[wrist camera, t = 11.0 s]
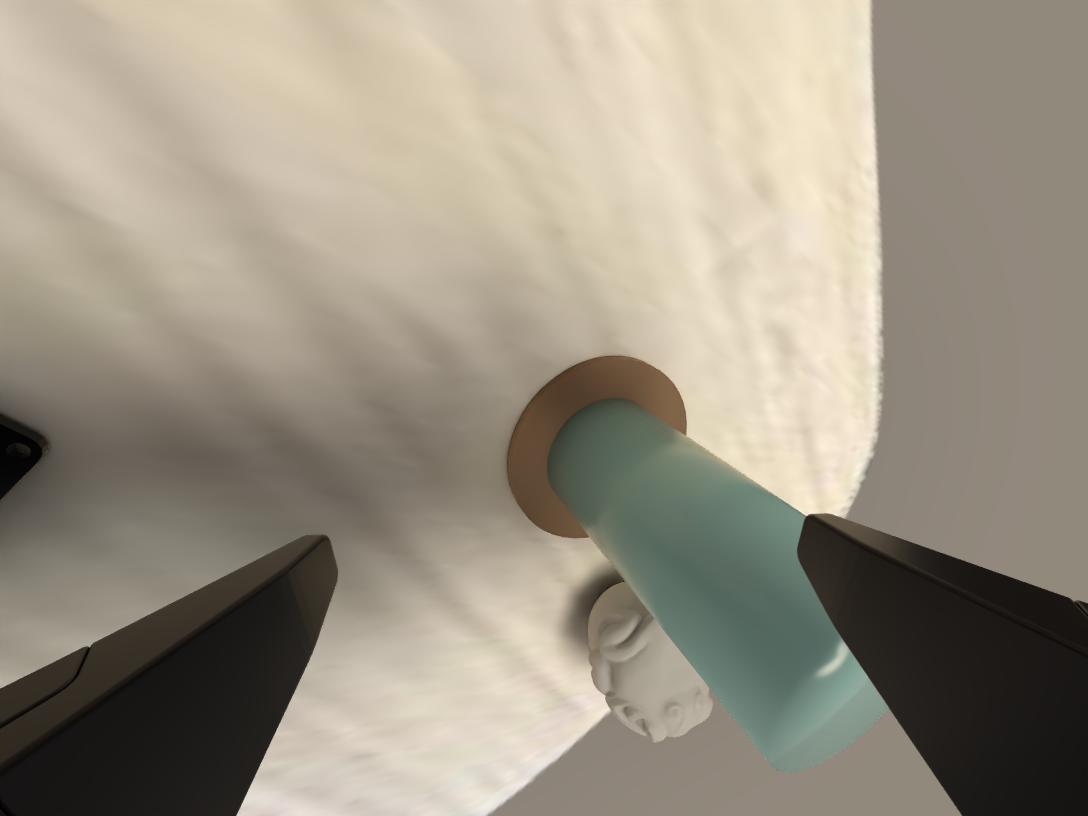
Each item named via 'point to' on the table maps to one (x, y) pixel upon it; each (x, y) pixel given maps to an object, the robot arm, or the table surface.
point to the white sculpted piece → (643, 669)
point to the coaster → (558, 407)
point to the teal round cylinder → (716, 578)
